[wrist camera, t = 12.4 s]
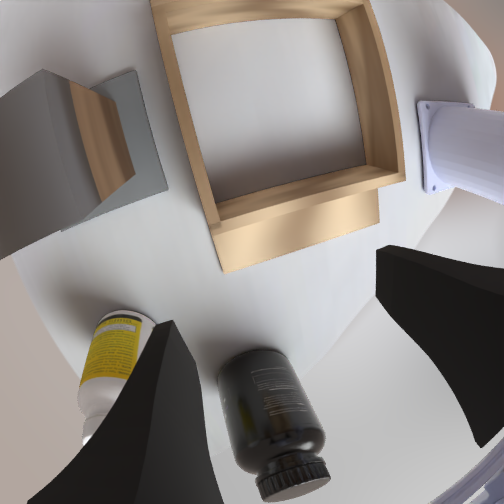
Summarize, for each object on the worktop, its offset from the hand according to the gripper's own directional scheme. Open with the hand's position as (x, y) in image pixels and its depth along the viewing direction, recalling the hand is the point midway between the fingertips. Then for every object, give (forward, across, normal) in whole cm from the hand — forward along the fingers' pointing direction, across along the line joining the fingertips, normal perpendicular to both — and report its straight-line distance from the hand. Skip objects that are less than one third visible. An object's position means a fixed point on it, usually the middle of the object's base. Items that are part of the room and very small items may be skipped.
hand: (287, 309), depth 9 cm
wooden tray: (+9, -4, -7) cm, 13 cm away
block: (+9, +7, -7) cm, 13 cm away
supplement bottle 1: (+10, +10, +6) cm, 15 cm away
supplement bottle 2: (+10, +2, +14) cm, 17 cm away
